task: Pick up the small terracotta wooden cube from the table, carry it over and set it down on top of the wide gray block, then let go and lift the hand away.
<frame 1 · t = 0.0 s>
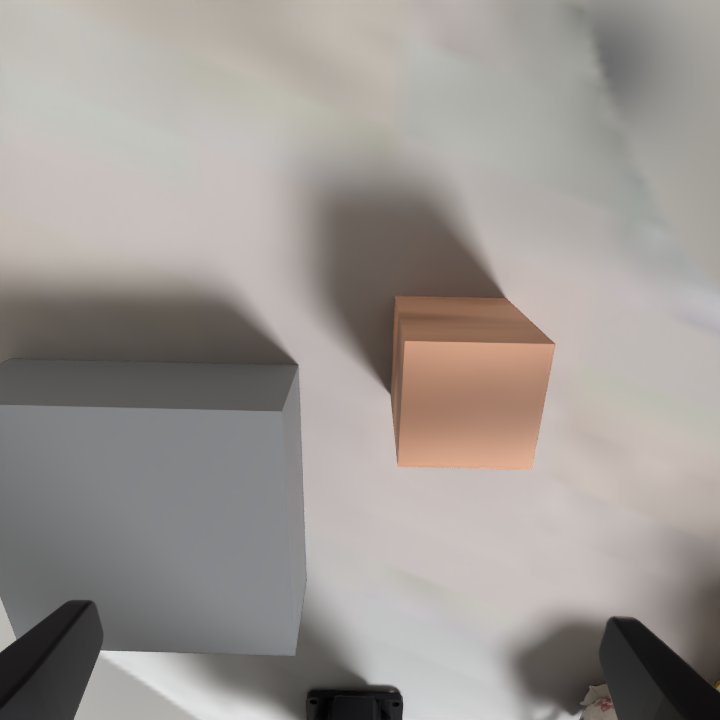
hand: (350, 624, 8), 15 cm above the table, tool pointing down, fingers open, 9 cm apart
gray block: (176, 476, 25), on the table
terracotta cube: (445, 348, 22), on the table
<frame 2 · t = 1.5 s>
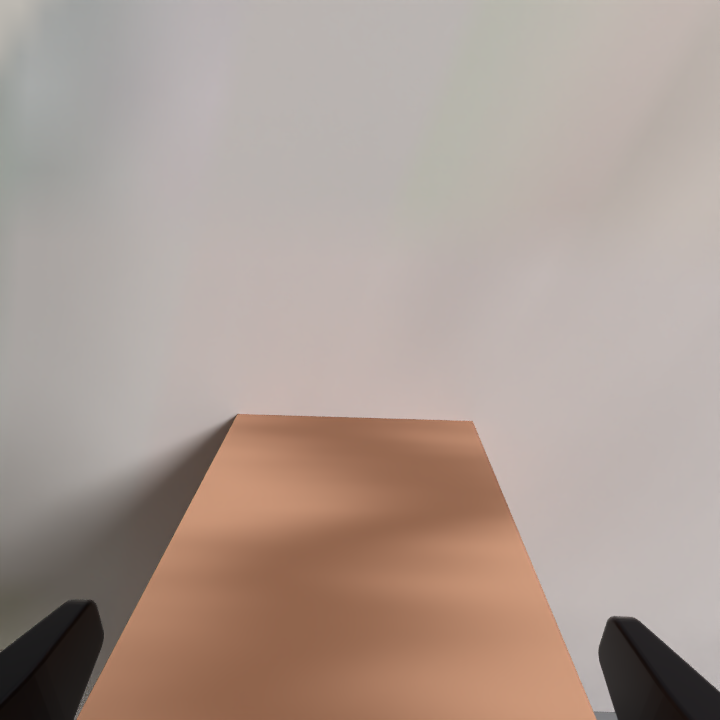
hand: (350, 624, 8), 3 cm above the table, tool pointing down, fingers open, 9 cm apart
terracotta cube: (352, 510, 11), on the table
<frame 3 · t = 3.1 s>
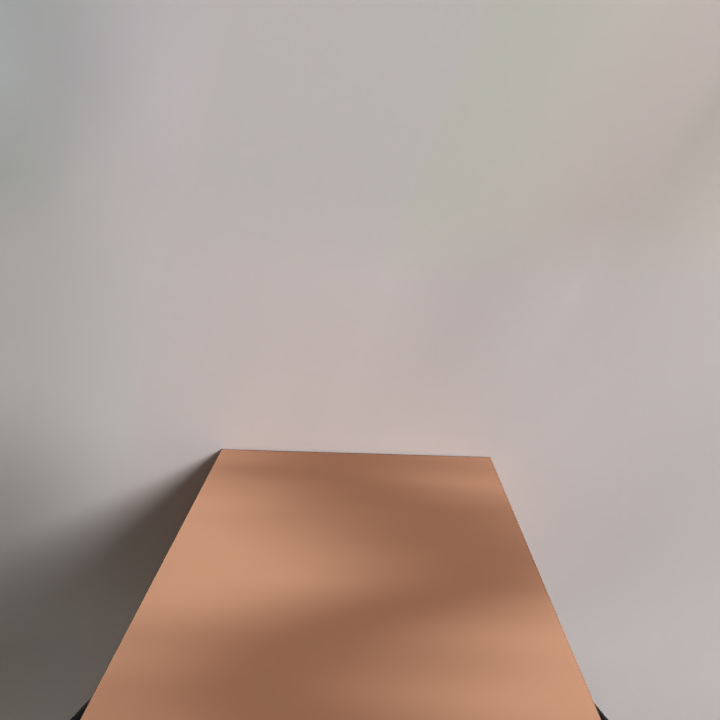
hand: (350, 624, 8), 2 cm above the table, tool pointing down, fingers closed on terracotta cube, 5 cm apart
terracotta cube: (353, 555, 10), on the table, touching gripper
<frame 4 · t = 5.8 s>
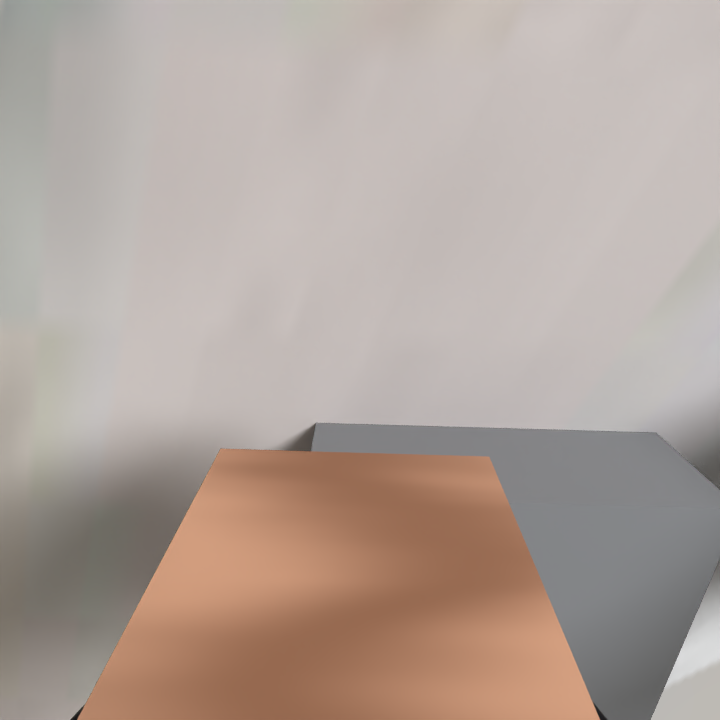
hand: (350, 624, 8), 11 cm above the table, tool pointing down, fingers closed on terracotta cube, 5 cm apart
gray block: (464, 551, 22), on the table
terracotta cube: (352, 555, 10), point 9 cm above the table, touching gripper
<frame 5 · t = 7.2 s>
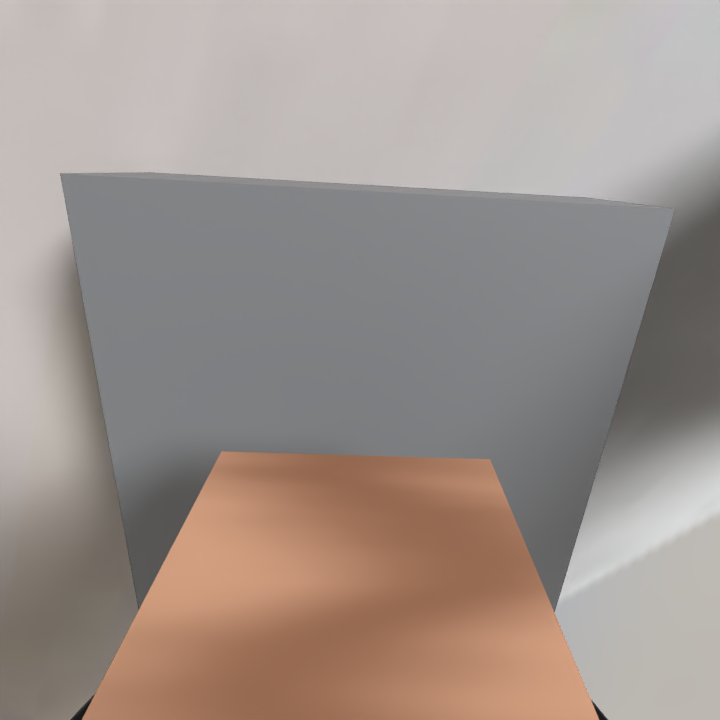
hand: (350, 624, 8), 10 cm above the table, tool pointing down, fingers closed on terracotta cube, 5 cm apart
gray block: (357, 378, 18), on the table
terracotta cube: (353, 557, 10), point 8 cm above the table, touching gripper
when the fingers open (7 cm above the table, at t = 8.5 s): terracotta cube drops 1 cm, point 5 cm above the table.
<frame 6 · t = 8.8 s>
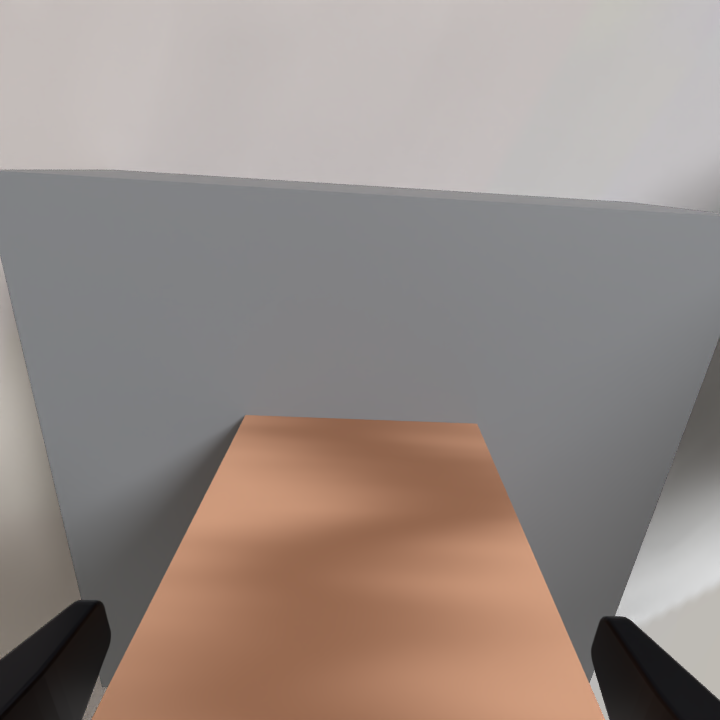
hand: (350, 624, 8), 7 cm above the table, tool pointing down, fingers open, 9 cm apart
gray block: (358, 407, 16), on the table
terracotta cube: (357, 512, 11), point 5 cm above the table
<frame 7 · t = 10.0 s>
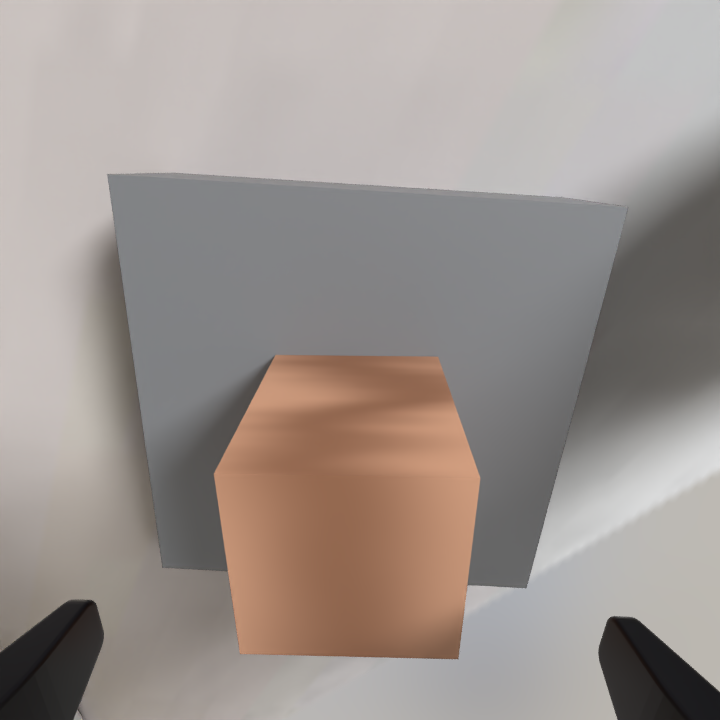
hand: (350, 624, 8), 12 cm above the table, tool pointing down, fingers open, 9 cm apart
gray block: (357, 360, 20), on the table, touching terracotta cube
terracotta cube: (356, 426, 15), point 5 cm above the table, touching gray block
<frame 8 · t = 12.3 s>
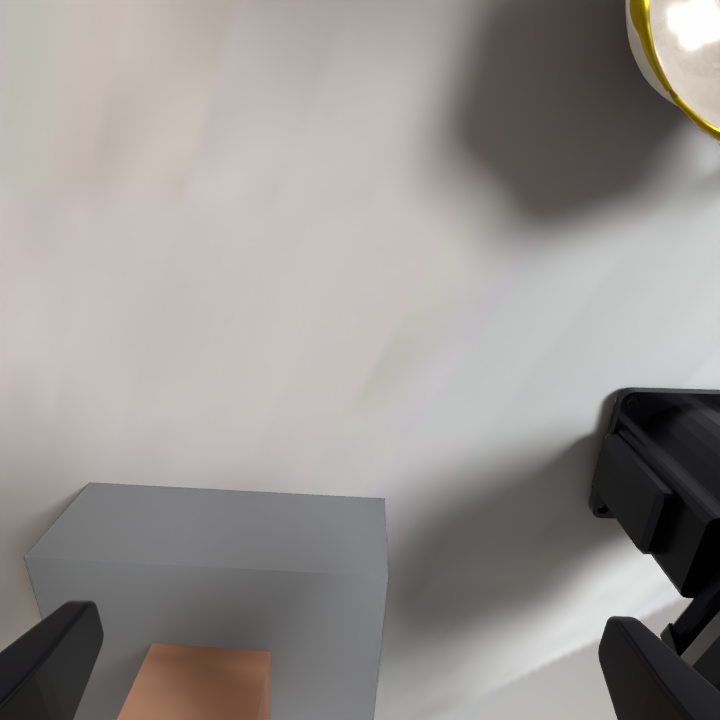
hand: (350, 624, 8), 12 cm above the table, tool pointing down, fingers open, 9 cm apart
gray block: (245, 590, 25), on the table, touching terracotta cube
terracotta cube: (214, 685, 20), point 4 cm above the table, touching gray block
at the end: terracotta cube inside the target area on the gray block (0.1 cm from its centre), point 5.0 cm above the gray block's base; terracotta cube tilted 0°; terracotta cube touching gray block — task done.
